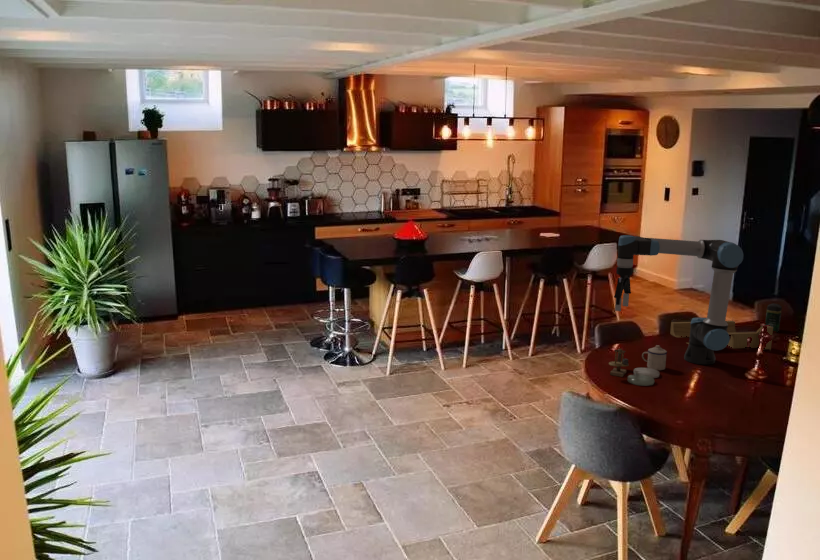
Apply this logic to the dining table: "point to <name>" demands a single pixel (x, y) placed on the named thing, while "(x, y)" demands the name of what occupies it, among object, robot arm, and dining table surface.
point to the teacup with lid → (656, 358)
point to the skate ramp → (736, 338)
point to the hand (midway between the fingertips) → (621, 308)
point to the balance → (619, 364)
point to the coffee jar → (773, 316)
